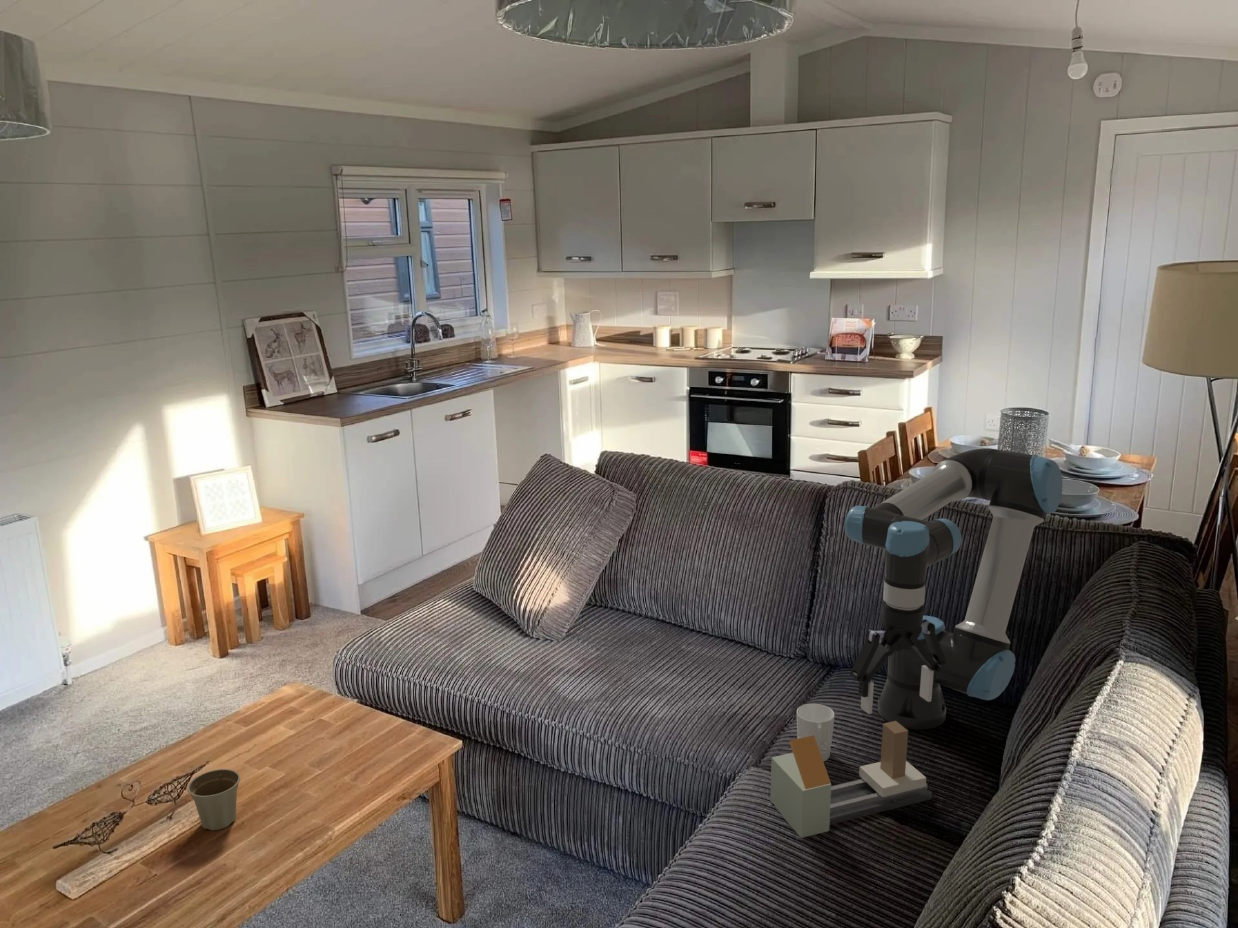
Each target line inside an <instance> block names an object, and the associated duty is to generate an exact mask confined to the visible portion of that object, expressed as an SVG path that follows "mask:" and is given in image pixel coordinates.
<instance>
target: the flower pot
mask: <svg viewBox="0 0 1238 928" xmlns="http://www.w3.org/2000/svg"><path fill="white" fill-rule="evenodd" d="M240 781H241V774H240V773H239V772H238V771H236V770H234V769H231V768H219V769H218V768H217V769H213V770H209V771H205V772H203V773H200V774H199V775H197V776H196V777H194V778H193V779H191V781H189V783H188V785H187V792H188V793H189V795H190V796H191V799H192V800H193V801H194V803H195V807H196V810H197V813H198V814H197V815H198V816H199V821H200V824H201V827H202V828H203V829H205V830H206V829H207V830H210V831H219V830H221V829H225V828H227V827H229V826H230V824H232V823H233V822H235V820H236V819H237V796H238V795H237V794H238V789H239V783H240Z"/></svg>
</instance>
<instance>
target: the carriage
mask: <svg viewBox="0 0 1238 928" xmlns="http://www.w3.org/2000/svg"><path fill="white" fill-rule="evenodd" d="M908 738H909V729H908V728H904V727H903V726H902V725H900V724H899V723H898V722H897V721H893V722H888V721H887V722H885V723H882V732H881V750H880V751H881V754H880V761H878V762H874V763H869V764H866V765H861V766H859V769H858V771H859V773H858V775H859V777H860V779H864V780H865V781H866V782H867V783H868V784H869V785H870V786H871V787H872V788H873V789H874V790H875V791H876V792H877V793H878V794H879V795H880V796H882V797H886V796H890V795H894V794H898V793H902V792H906V791H910V790H914V789H918V788H922V787H926V783H927V777H926V776H925V775H924V774H923V773H921V772H920V770H918V769H916V768H915V767H914V766H913V765H912V764H911V763H909V761H907V752H908Z"/></svg>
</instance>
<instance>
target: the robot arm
mask: <svg viewBox="0 0 1238 928" xmlns="http://www.w3.org/2000/svg"><path fill="white" fill-rule="evenodd" d="M1062 496H1063V476H1062V471H1061V468H1060V466H1059V464H1058V463H1057V462H1056V461H1055V460H1053V459H1050V458H1048V457H1043V456H1039V455H1037V454H1027V453H1020V452H1014V451H1008V450H1001V449H997V448H989V447H986V448H976V449H975V448H974V449H971V450H967V451H963V452H960V453H956V454H954V455H951V456H950V457H947V458H945V459H944V460H941V461H940V462H938V463H937V464H936V465H935V466H934V467H933V470H932V472H930V473H929V474H927V475H926V476H924V477H922V478H921V479H919V480H917V481H916V482H913V483H912V484H911V485H909V486H907V487H906V488H904V489H902V490H901V491H899V492H897V493H896V494H894V495H892V496H891V497H889V498H887V499H885V500H884V501H882V502H880V503H879V504H877V505H876V506H875V505H874V507H869V506H868V505H865V506H864V505H855V506H853V507H852V508H851V509H850V510H849V511H848V513H847V515H846V518H845V522H844V531H845V534H846V537H847V538H848V539H849V540H851V541H853V542H856V543H860V544H862V545H864V546H866V545H867V546H870V547H874V548H877V549H878V548H879V549H882V550H885V560H884V561H885V563H884V564H885V565H884V576H883V577H884V580H883V591H882V592H883V593H882V594H883V595H882V599H883V602H882V608H881V622H882V627H881V629H880V630H873V629H872V628H869V629H868V630H867V632H866V639H865V641H864V643H863V645H862V647H861V650H860V651H859V653H858V656H857V658H856V660H855V662H854V664H853V666H852V668H851V670H850V676H851V677H852V678H853V679H855V680H856V681H857V682H858V694H859V696H861V697H860V708H861V709H862V711H864V712H865V713H867V714H868V715H871V714H873V703H874V686H875V682H874V681H873V680H872V679H873V678H874V677H875V676H876V674H877V673H878V671H879V670H880V669H881V667H882V666H883V665H884V663H885V662H886V660H887V659H888V661H887V675H886V676H887V677H886V682H885V683H884V686H883V689H882V691H881V694H879V697H878V700H877V712H878V714H879V715H880V717H881V718H882V719H884V720H885V721H886V722H887V723H888V722H893V721H897V722H898V723H899V724H900V725H902V726H903V727H904V728H905V729H908V730H909V729H910V730H929V729H934V728H937V727H939V726H941V725H942V724H944V722H945V721H946V717H947V716H946V714H947V707H946V704H945V700H944V695H943V691H942V688H941V686H944V687H946V688H948V689H949V688H950V689H952V690H955V691H957V692H960V693H963V694H966V695H967V696H969V697H973V698H976V699H977V698H978V699H981V700H984V701H992V700H994V699H996V698H998V697H999V696H1000V695H1001V694H1002V693H1003V692H1004V691H1005V690H1006V688H1007V687H1008V685H1009V683H1010V681H1011V678H1012V676H1013V674H1014V671H1015V667H1016V664H1015V663H1016V656H1015V654H1014V653H1013V652H1012V651H1011V650H1009V649H1010V645H1011V641H1010V639H1009V638H1008V636H1007V634H1006V631H1007V627H1008V624H1009V620H1010V617H1011V612H1012V609H1013V605H1014V602H1015V598H1016V595H1017V591H1018V588H1019V584H1020V581H1021V576H1022V574H1023V573H1022V572H1023V569H1024V566H1025V562H1026V559H1027V556H1028V551H1029V547H1030V543H1031V540H1032V536H1033V532H1034V529H1035V527H1036V526H1038V525H1040V524H1042V523H1043V522H1045V518H1046V515H1048V514H1054V513H1055V512H1056V511H1057V510H1058V507H1059V506H1060V503H1061V500H1062ZM966 498H974V499H975V498H976V499H980V500H981V499H982V500H985V501H989V504H988V510H989V511H990V513H991V514H992V516H993V518H992V519H991V525H990V528H989V531H988V533H987V534H988V535H987V538H986V542H985V545H984V550H983V552H982V556H981V559H980V560H981V561H980V563H979V567H978V571H977V575H976V578H975V581H974V585H973V588H972V593H971V596H970V600H969V604H968V606H967V610H966V614H965V618H964V620H963V621H961V622H960V623H958V624H956V625H955V626H954V629H953V632H951V631H950V632H949V631H946V626H945V622H944V621H943V620H941V619H940V618H938V617H935V616H931V615H930V616H929V615H924V611H925V610H924V609H925V608H924V604H925V598H926V597H925V596H926V583H927V582H926V578H927V569H928V567H931V566H932V565H934V564H936V563H938V562H940V561H941V562H942V561H943V560H947V559H949V558H950V557H951V556H952V555H953V554H955V553H957V552H958V550H959V549H960V547H961V545H962V540H963V539H962V538H963V537H962V533H961V530H960V528H959V526H958V525H957V524H956V523H954V522H953V521H951V520H950V519H948V518H936V519H932V520H930V521H929V520H925V519H926V518H927V517H929V516H931V515H933V514H934V513H936V512H938V511H939V510H940V509H942V508H943V507H946V505H949V503H951V502H960V501H963V500H964V499H966ZM886 646H887V647H888V648H887V647H886Z"/></svg>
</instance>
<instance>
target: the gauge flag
mask: <svg viewBox="0 0 1238 928" xmlns="http://www.w3.org/2000/svg"><path fill="white" fill-rule="evenodd" d="M788 743H789V745H790V748H791V751H792V753H793V754H794V757H795V760H796V763H797V766H798V769H799V772H800V775H801V778H802V781H803V784H804V787H805V789H809V788H814V787H818V786H822V785H826V784H830V783H831V779H830V777H829V774H828V771H827V767H826V766H825V763H824V762H825V761H823V759H822V756H821V754H820V751H819V748H818V745H817V742H816V739H815V736H814V735H812V736H808V737H803V738H799V739H797V738H795V739H791V740H789V742H788ZM831 784H832V783H831Z"/></svg>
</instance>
